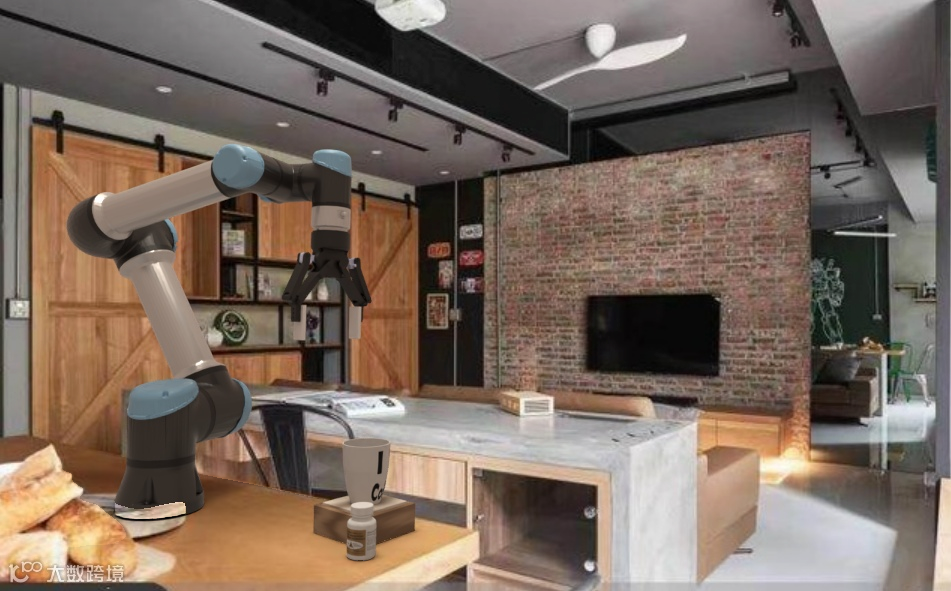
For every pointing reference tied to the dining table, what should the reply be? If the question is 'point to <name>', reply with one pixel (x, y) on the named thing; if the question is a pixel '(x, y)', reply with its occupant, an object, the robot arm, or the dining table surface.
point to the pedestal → (388, 514)
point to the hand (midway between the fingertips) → (328, 339)
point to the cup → (366, 468)
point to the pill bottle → (361, 532)
